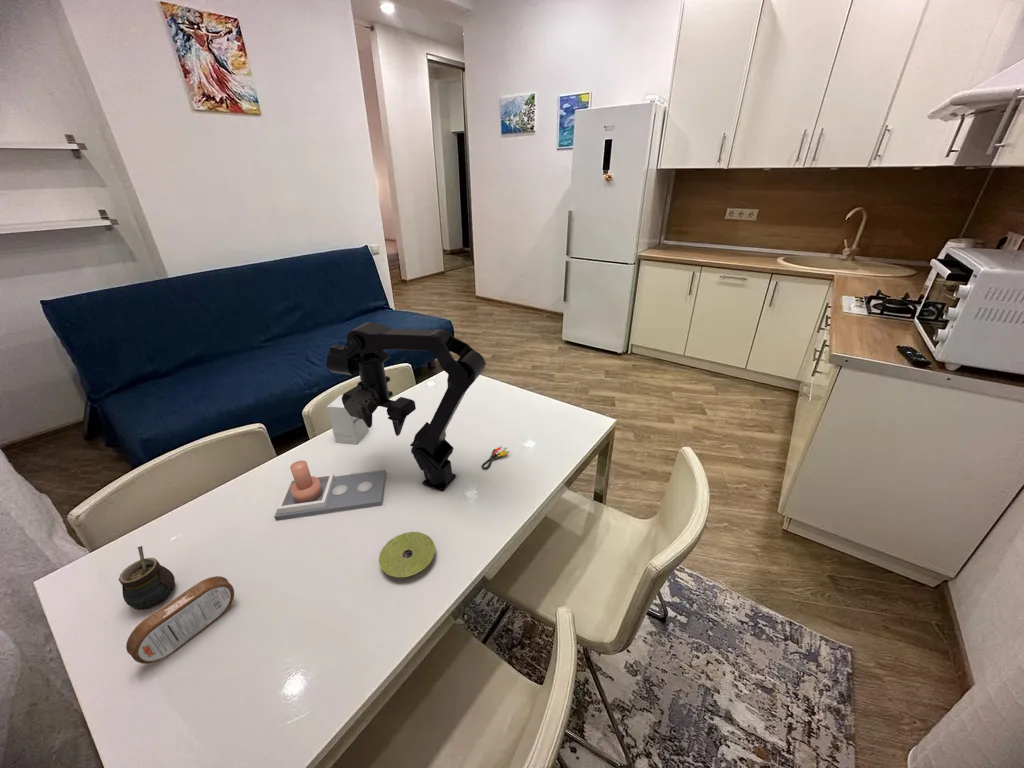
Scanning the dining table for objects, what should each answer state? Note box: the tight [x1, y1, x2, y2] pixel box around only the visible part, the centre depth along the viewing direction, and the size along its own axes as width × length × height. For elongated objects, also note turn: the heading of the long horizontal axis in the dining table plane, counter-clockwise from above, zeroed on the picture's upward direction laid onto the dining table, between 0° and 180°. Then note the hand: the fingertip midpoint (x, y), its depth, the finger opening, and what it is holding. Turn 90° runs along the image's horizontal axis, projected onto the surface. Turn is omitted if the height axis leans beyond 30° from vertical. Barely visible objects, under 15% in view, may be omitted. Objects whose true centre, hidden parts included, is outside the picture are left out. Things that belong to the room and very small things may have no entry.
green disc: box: [378, 531, 436, 578], centre depth 84 cm, size 11×11×2 cm
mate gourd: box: [117, 545, 176, 611], centre depth 75 cm, size 7×8×10 cm
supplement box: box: [326, 394, 370, 445], centre depth 121 cm, size 7×7×13 cm
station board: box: [273, 469, 387, 521], centre depth 101 cm, size 24×12×3 cm, turn 101°
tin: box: [125, 575, 235, 665], centre depth 70 cm, size 15×3×8 cm, turn 147°
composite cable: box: [481, 445, 511, 471], centre depth 113 cm, size 10×5×2 cm, turn 136°
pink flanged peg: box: [289, 460, 322, 503], centre depth 98 cm, size 6×6×9 cm
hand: (383, 431), depth 103 cm, fingers open, 9 cm apart
